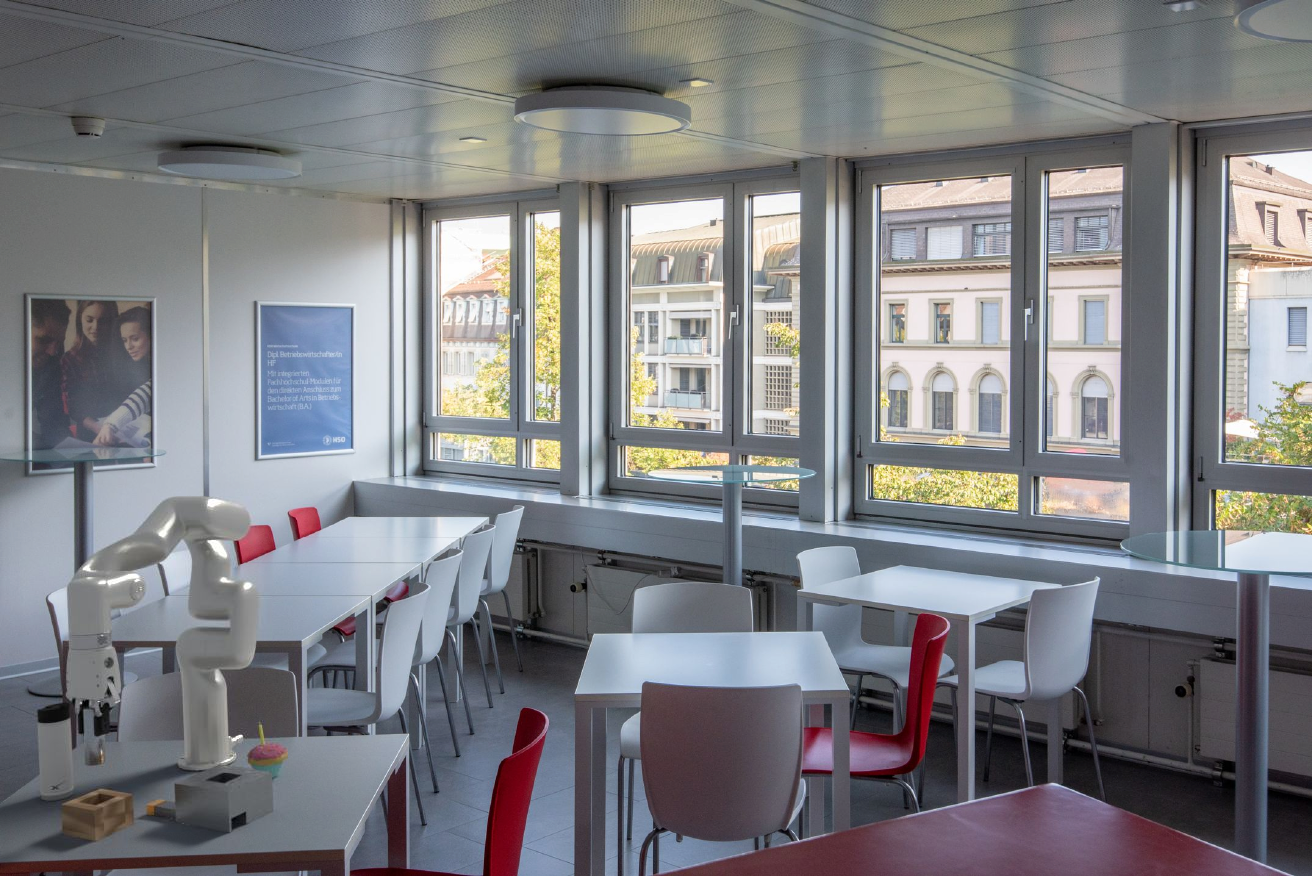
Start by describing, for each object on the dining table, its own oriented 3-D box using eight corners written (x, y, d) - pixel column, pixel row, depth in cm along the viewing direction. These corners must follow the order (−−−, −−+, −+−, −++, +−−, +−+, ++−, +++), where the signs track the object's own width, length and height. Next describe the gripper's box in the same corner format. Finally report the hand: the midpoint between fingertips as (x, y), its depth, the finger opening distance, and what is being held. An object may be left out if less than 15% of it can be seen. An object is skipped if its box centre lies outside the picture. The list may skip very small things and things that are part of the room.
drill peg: (96, 758, 222) (95, 704, 222) (109, 761, 221) (107, 706, 221) (80, 764, 219) (78, 708, 219) (93, 766, 218) (91, 710, 217)
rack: (101, 817, 227) (100, 788, 227) (134, 823, 223) (132, 794, 223) (62, 834, 219) (61, 804, 218) (95, 841, 215) (94, 810, 215)
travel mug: (61, 802, 236) (56, 708, 235) (33, 800, 237) (29, 707, 236) (81, 791, 242) (77, 700, 241) (55, 789, 243) (51, 699, 242)
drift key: (159, 809, 231) (159, 799, 231) (218, 819, 224) (218, 809, 224) (146, 814, 228) (146, 804, 228) (206, 825, 221) (205, 815, 221)
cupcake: (239, 779, 248) (237, 726, 247) (266, 767, 255) (264, 715, 255) (270, 784, 244) (268, 730, 244) (296, 771, 252) (294, 719, 252)
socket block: (221, 801, 234) (219, 764, 234) (273, 810, 229) (271, 772, 229) (176, 822, 223) (174, 783, 223) (229, 832, 218) (228, 792, 218)
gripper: (137, 640, 219) (140, 732, 220) (77, 634, 226) (80, 723, 227) (104, 648, 212) (108, 743, 213) (43, 642, 219) (47, 734, 220)
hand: (94, 732), depth 220 cm, fingers closed on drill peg, 3 cm apart
